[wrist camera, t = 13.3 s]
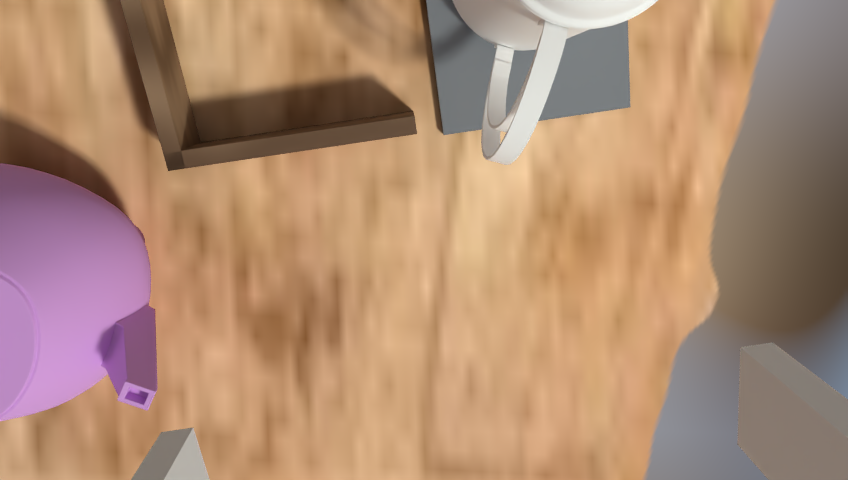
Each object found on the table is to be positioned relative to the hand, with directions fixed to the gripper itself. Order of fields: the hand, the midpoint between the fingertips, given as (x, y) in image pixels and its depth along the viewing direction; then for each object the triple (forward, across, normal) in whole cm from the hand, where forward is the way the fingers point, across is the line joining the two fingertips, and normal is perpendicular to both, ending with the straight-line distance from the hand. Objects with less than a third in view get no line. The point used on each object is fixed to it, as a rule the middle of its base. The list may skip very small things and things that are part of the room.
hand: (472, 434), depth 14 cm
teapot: (+32, -28, -5) cm, 43 cm away
